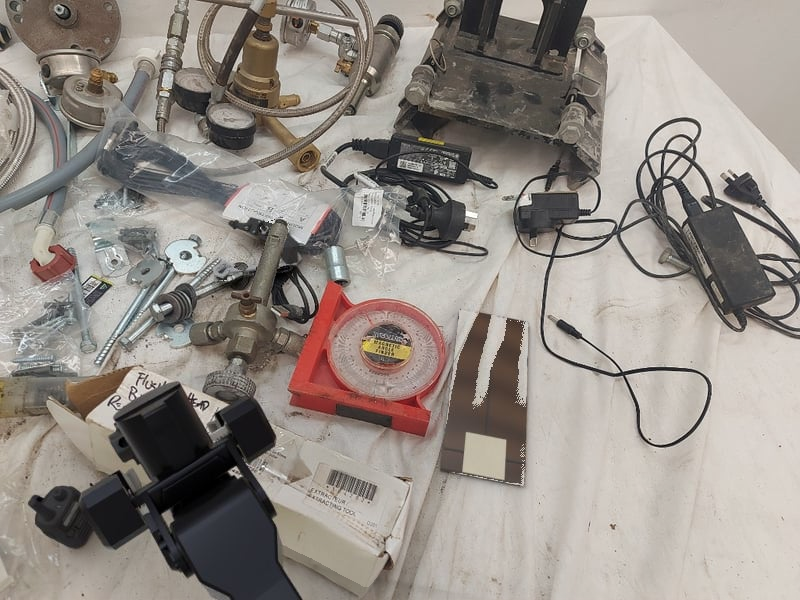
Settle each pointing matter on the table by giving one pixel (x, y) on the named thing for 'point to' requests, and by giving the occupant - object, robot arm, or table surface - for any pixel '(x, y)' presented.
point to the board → (487, 410)
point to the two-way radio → (61, 516)
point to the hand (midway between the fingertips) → (172, 448)
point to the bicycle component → (253, 227)
